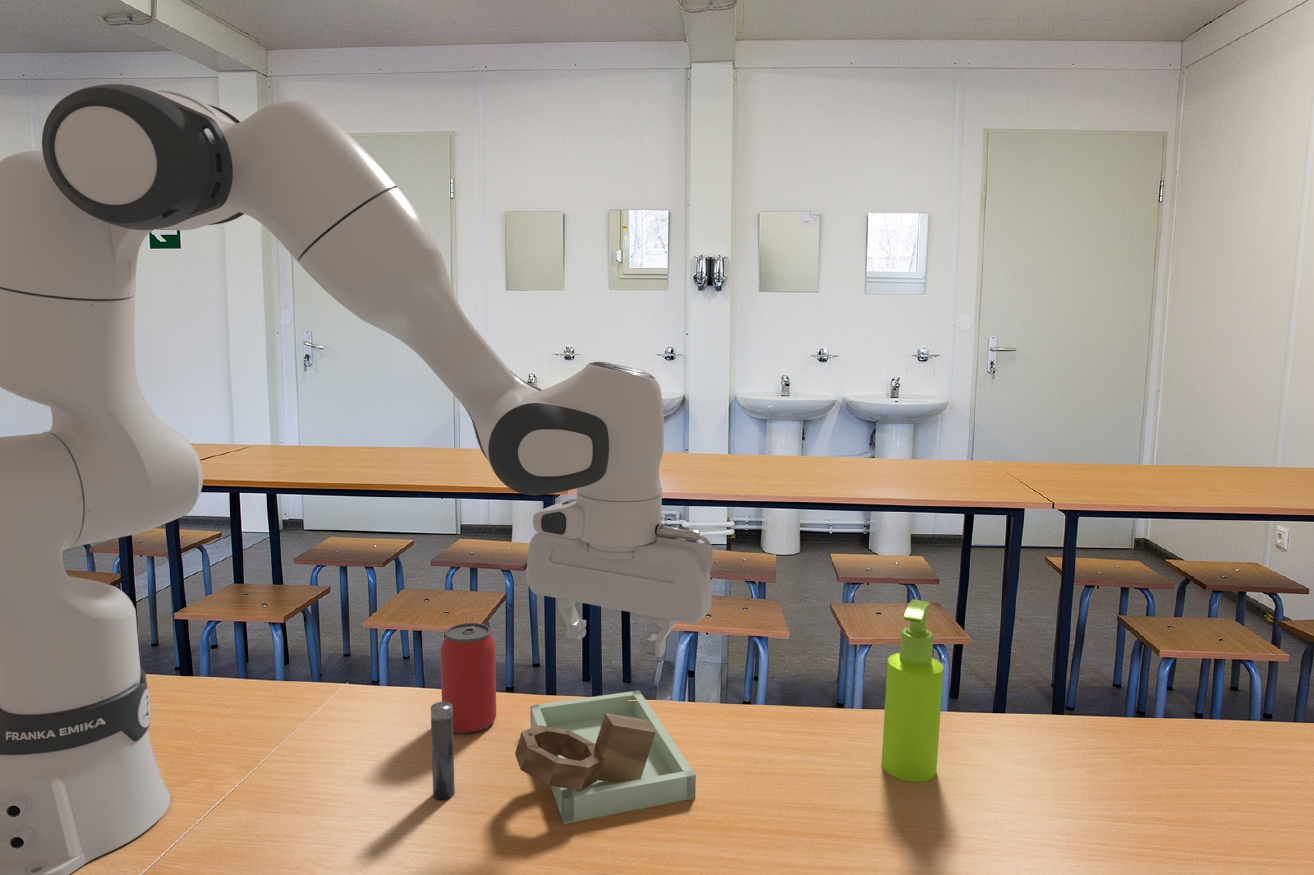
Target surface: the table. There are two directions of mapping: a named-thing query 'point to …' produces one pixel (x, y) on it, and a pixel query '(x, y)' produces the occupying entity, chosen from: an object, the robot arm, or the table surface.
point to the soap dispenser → (913, 702)
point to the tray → (657, 786)
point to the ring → (586, 753)
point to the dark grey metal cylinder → (442, 750)
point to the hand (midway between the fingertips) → (615, 645)
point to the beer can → (469, 676)
